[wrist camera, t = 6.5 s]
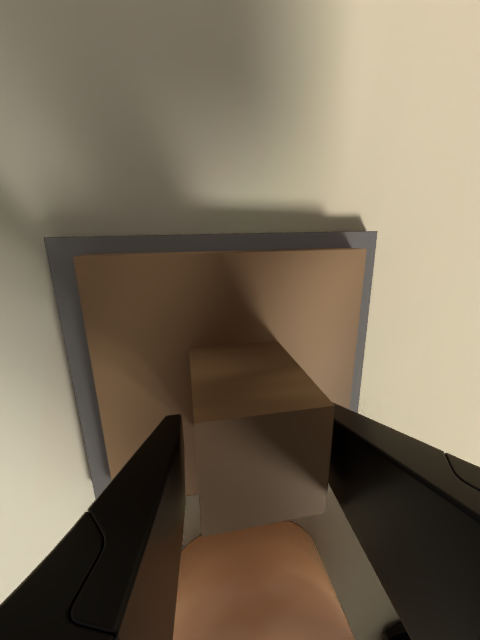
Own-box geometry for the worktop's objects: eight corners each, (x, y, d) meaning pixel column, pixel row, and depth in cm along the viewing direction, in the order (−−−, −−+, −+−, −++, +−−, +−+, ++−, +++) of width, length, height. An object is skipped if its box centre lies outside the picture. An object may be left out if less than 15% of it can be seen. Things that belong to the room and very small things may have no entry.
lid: (350, 247, 11) (483, 259, 6) (331, 452, 13) (414, 573, 9) (84, 254, 9) (-21, 277, 4) (121, 485, 12) (80, 656, 7)
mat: (367, 231, 11) (377, 231, 11) (345, 450, 14) (352, 459, 13) (52, 237, 9) (43, 237, 9) (100, 488, 12) (96, 500, 12)
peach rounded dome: (322, 503, 15) (369, 596, 11) (313, 612, 17) (350, 720, 13) (156, 533, 13) (146, 651, 10) (171, 647, 16) (167, 779, 12)
